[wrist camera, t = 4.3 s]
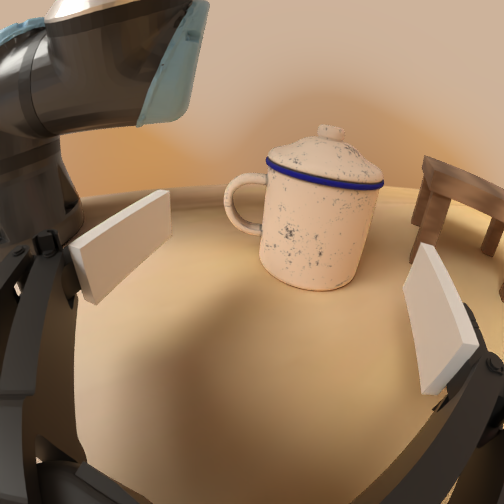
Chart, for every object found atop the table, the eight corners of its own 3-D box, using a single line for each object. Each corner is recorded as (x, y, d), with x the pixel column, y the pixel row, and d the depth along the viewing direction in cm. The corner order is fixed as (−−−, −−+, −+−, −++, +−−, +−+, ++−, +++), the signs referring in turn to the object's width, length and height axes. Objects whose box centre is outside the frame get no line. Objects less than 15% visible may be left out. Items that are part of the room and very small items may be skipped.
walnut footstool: (404, 263, 25) (434, 169, 20) (408, 217, 37) (424, 155, 32) (517, 310, 18) (555, 230, 13) (491, 251, 30) (512, 193, 25)
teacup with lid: (342, 241, 28) (365, 130, 22) (370, 297, 20) (415, 150, 14) (226, 231, 28) (233, 112, 22) (215, 288, 20) (221, 118, 14)
